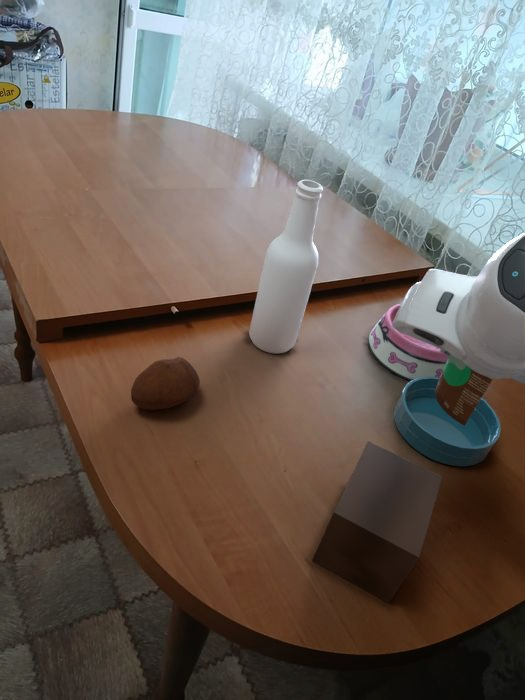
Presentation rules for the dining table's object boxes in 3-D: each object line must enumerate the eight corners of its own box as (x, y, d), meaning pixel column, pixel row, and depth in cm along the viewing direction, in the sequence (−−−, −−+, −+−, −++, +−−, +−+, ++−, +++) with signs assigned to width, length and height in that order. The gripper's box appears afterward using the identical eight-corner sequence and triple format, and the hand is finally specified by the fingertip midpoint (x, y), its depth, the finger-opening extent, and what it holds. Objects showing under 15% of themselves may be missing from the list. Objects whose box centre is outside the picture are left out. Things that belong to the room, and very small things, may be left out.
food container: (441, 360, 73) (474, 298, 67) (486, 382, 71) (523, 320, 65) (411, 405, 64) (445, 337, 58) (461, 432, 62) (501, 364, 56)
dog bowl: (472, 392, 99) (488, 364, 95) (374, 377, 97) (387, 347, 93) (446, 333, 114) (460, 306, 110) (361, 318, 112) (371, 290, 108)
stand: (413, 523, 74) (442, 476, 68) (388, 603, 64) (419, 557, 58) (346, 488, 76) (368, 440, 70) (311, 560, 66) (333, 512, 60)
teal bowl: (493, 422, 94) (505, 403, 91) (481, 484, 82) (494, 465, 79) (406, 383, 98) (415, 364, 95) (381, 437, 86) (391, 417, 83)
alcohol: (238, 332, 100) (270, 174, 82) (275, 321, 105) (313, 170, 87) (267, 360, 95) (307, 199, 77) (304, 348, 100) (350, 193, 82)
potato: (211, 399, 85) (218, 361, 80) (152, 433, 77) (156, 393, 72) (179, 373, 88) (183, 334, 83) (120, 403, 81) (121, 362, 76)
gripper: (631, 344, 49) (574, 371, 62) (414, 261, 54) (405, 302, 67) (605, 407, 48) (553, 421, 61) (388, 317, 53) (384, 348, 67)
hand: (474, 358), depth 64 cm, fingers closed on food container, 5 cm apart
